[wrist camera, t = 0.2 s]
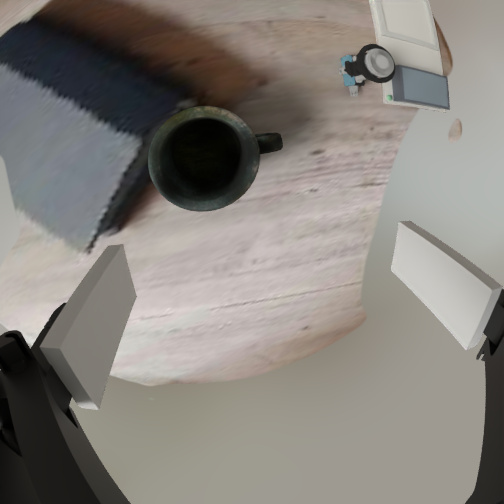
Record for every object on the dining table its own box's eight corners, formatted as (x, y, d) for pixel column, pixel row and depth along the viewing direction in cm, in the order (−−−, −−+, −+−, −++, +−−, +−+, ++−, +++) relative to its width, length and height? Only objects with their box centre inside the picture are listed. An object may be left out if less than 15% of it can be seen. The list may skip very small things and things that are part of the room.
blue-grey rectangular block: (390, 66, 33) (399, 64, 30) (438, 77, 33) (447, 76, 31) (393, 101, 35) (402, 100, 33) (440, 108, 36) (450, 109, 34)
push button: (365, 97, 36) (403, 94, 27) (334, 96, 35) (367, 90, 26) (360, 57, 33) (396, 46, 24) (329, 55, 33) (360, 39, 24)
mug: (159, 123, 35) (136, 123, 24) (263, 100, 35) (282, 90, 24) (177, 195, 39) (163, 223, 29) (276, 173, 40) (299, 193, 29)
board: (363, -21, 26) (367, -23, 25) (426, 0, 27) (429, -2, 25) (383, 103, 36) (387, 103, 35) (443, 112, 37) (447, 112, 36)
